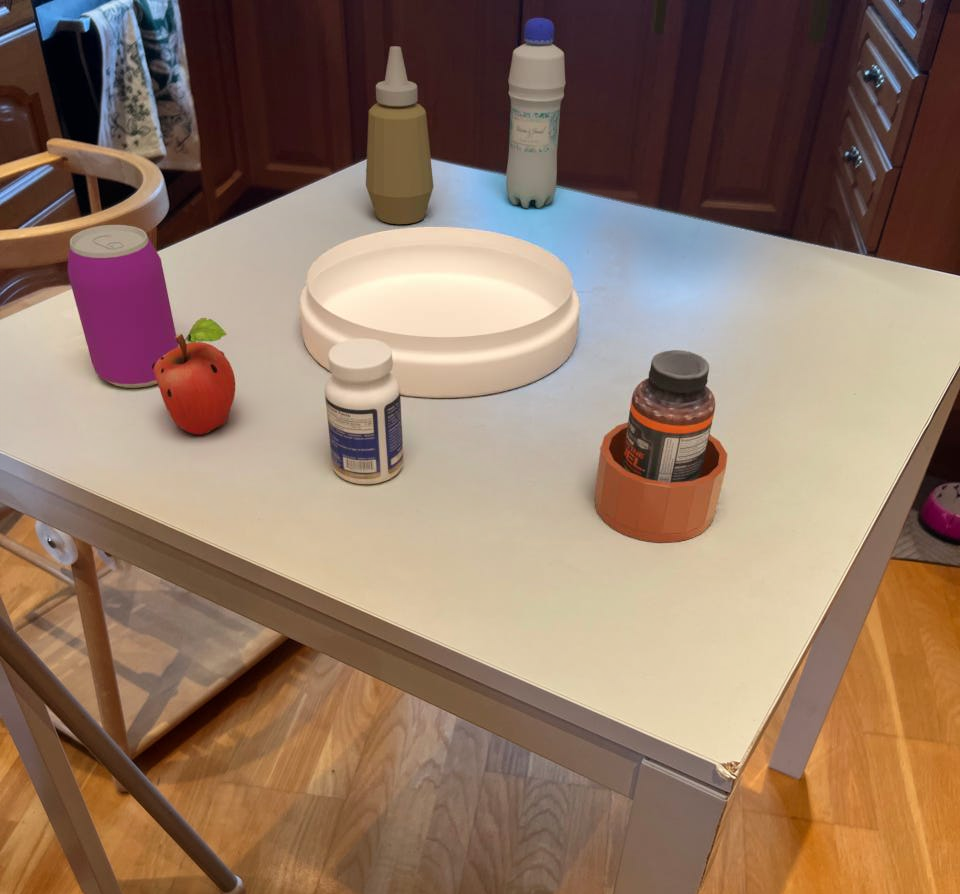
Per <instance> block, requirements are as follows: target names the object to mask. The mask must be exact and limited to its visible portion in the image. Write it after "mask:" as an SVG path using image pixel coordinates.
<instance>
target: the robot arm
mask: <svg viewBox="0 0 960 894" xmlns="http://www.w3.org/2000/svg"><path fill="white" fill-rule="evenodd" d="M667 4H668V0H653V9H652V16H651V24H650V25H651V26H650V33H651V34H654V35H663V34H664V28H665V20H666V19H665V18H666V10H667ZM831 6H832V0H814V1H813V5H812V11H811V16H810V20H809V26H808V31H807V36H806V41H807V42H812V43H824V39H825V35H826V30H827V25H828V19H829V16H830V11H831Z"/></svg>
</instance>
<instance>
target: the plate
mask: <svg viewBox="0 0 960 894" xmlns="http://www.w3.org/2000/svg"><path fill="white" fill-rule="evenodd" d="M573 279H574V278H573V276H572V273H571V272H570V269H569V268H568V267H567V265H566V264H565V263H564V262H563V261H562V260H561V259H560V258H559V257H557V256H556V255H554V254H553V252H552V253H551V252H550V251H549V250H547V249H545V248H543V247H541V246H538V245H537V244H535V243H533V242H529V241H527V240H524V239H521V238H518V237H515V236H511V235H507V234H505V233H503V234H502V233H499V232H495V231H489V230H482V229H476V228H468V227H467V228H466V227H456V226H454V227H453V226H417V227H404V228H394V229H389V230H383V231H378V232H373V233H369V234H365V235H361V236H358V237H355V238H351V239H348V240H346V241H344V242H342V243H339V244H337V245H335V246H333V247H331V248H330V249H328V250H326V251H324V252H323V253H322V254H321V255H320V256H318V257H317V258H316V259H315V260H314V261H313V262H312V264H311V266H310V267H309V268H308V271H307V274H306V284H305V285H304V287H303V288H302V291H301V292H300V296H299V314H300V322H301V324H300V325H301V332H302V339H303V342H304V346H305V347H306V349H307V351H308V353H309V354H310V355H311V357H313V360H315V361H316V362H317V363H318V364H320V365H321V366H322V367H324V368H325V369H326V370H327V371H329V372H330V368H329V357H328V354H329V351H330V350H331V348H332V347H333V346H335V345H336V344H338V343H341V342H343V341H346V340H351V339H361V338H364V339H374V340H378V341H381V342H383V343H385V344H387V345H388V346H389V347H390V349H391V352H392V361H393V367H392V370H391V371H390V372H391V373H392V374H393V375H394V376H395V377H396V378H397V380H398V382H399V386H400V396H406V397H416V398H433V399H456V398H471V397H479V396H486V395H487V396H488V395H493V394H498V393H502V392H503V393H504V392H506V391H511V390H514V389H517V388H521V387H524V386H526V385H529V384H532V383H534V382H537V381H539V380H540V379H543V378H545V377H547V376H548V375H549V374H552V373H553V372H555V371H556V370H557V369H558V368H560V367H561V366H562V365H563V364H564V363H565V362H566V361H567V360H568V359H569V358H570V356H571V355H572V353H573V351H574V349H575V347H576V344H577V339H578V333H579V322H580V313H581V305H580V303H581V302H580V299H579V295H578V293H577V291H576V289H575V288H574V280H573Z"/></svg>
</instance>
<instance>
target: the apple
mask: <svg viewBox="0 0 960 894" xmlns="http://www.w3.org/2000/svg"><path fill="white" fill-rule="evenodd" d="M225 336H227V332H226V331H225V330H224V329H223V328H222V327H221V326H220V324H219V323H217V322H216V321H215V320H213V319H211V318H207V317H201V318H199V319H198V320H196V321H195V323H194V324H193V325H192V327H191V329H190V331H189V332H188V334H187V336H186V337H184V335H183V334H182V333H180V334H177V335H176V337H175V339H176V341H177V343H178V347H177V348H175V349H173V350H171V351H170V352H168V353H166V354H165V355H163V356H162V357H161V358H160V359H159V360H158V361H157V362H156V363H154V364H153V365H152V369H153V370H154V374H155V378H156V381H157V384H156V385H157V386H158V389H159V391H160V395H161V398H162V400H163V404H164V405H165V408H166V409H167V412H168V414H169V415H170V417H171V419H172V421H174V423H175V424H176V425H177V426H178V427H179V428H181V429H182V430H184V431H186V432H187V433H189V434H191V435H197V436H198V435H199V436H201V435H206V434H208V433H210V432H211V431H213V430H215V429H217V428H219V427H221V426H223V425H224V424H225V423H226V422H227V420H228V418H229V416H230V412H231V409H232V406H233V403H234V400H235V395H236V377H235V373H234V370H233V367H232V365H231V363H230V361H229V360H228V358H227V357H226V355H225V353H224V352H223V351H222V350H220V349H219V348H218V347H216V346H214V345H212V344H210V343H207V342H216V341H219V340H221V339H222V337H225ZM187 342H188V343H187Z"/></svg>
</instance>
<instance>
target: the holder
mask: <svg viewBox="0 0 960 894" xmlns="http://www.w3.org/2000/svg"><path fill="white" fill-rule="evenodd" d="M627 426H628V421H626V422H623V423H621V424H617V425H616V426H615V427H613V428H612V429H611V430H610V431H608V432H607V433H606V434H605V435H603V439H602V443H601V446H600V451H599V456H598V457H599V458H598V467H597V474H596V482H595V489H594V506H595V510H596V512H597V514H598V516H599V517H600V519H601V520H602V521H603V522H605V524H606V525H607V526H609V527H610V528H612V529H613V530H615V531H617V532H618V533H620V534H622V535H624V536H627V537H630V538H634V539H636V540H640V541H644V542H651V543H662V544H663V543H666V544H667V543H678V542H683V541H687V540H691V539H693V538H696V537H698V536H699V535H701V534H703V533H704V532H705V531H707V530H708V528H710V526H711V525H712V523H713V521H714V518H715V515H716V512H717V507H718V503H719V499H720V494H721V490H722V486H723V483H724V478H725V473H726V471H727V470H726V469H727V464H728V453H727V451H726V449H725V448H724V446H723V444H722V443H721V441H720V440H719V439H717V438H716V437H714V436H713V435H712V434H711V433H710V434H709V439H708V444H707V448H706V453H705V457H704V462H703V466H702V471H701V475H700V478H698V479H696V480H693V481H685V482H663V481H656V480H650V479H646V478H643V477H641V476H638V475H636V474H633V473H631V472H628V471H626V470H625V469H624V468H623V467H622V459H623V452H624V447H625V439H626V434H627Z"/></svg>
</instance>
